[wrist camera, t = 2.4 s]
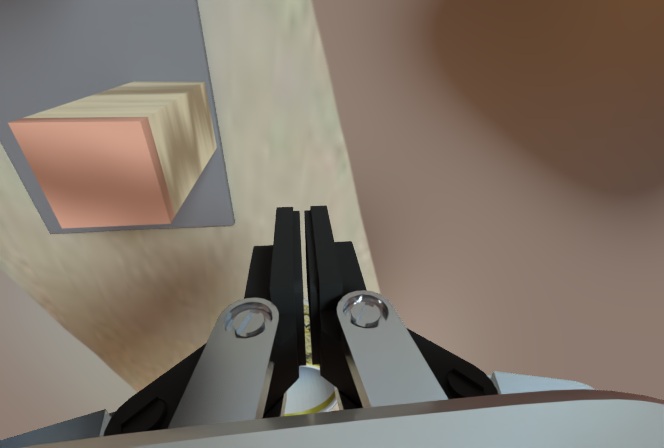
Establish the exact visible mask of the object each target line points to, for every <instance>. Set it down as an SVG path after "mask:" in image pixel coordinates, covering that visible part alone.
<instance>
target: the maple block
mask: <svg viewBox="0 0 664 448" xmlns="http://www.w3.org/2000/svg"><path fill="white" fill-rule="evenodd" d="M8 124H9V126H10V128H11V130H12V132H13V134H14V136H15V138H16V140H17V142H18V144H19V145H20V147H21V149H22V151H23V153H24V155H25V157H26V159H27V161H28V163H29V165H30V167H31V169H32V171H33V173H34V175H35V177H36V179H37V181H38V183H39V185H40V186H41V188H42V190H43V192H44V194H45V196H46V198H47V200H48V202H49V204H50V206H51V208H52V210H53V212H54V214H55V216H56V218H57V220H58V222H59V224H60V226H61V227H62V228H84V227H106V226H128V225H150V224H171V222H172V220H173V219H174V217H175V215H176V214H177V212H178V211H179V209H180V207H181V206H182V204H183V202H184V201H185V199H186V197H187V196H188V194H189V193H190V191H191V189H192V188H193V186H194V184H195V183H196V181H197V179H198V178H199V176H200V175H201V173H202V171H203V170H204V168H205V166H206V165H207V163H208V161H209V160H210V158H211V157H212V155H213V153H214V152H215V150H216V148H217V146H216V141H215V135H214V129H213V124H212V118H211V113H210V107H209V102H208V96H207V90H206V85H205V82H131V83H128V84H125V85H122V86H118V87H115V88H112V89H109V90H106V91H103V92H100V93H97V94H94V95H91V96H88V97H85V98H82V99H79V100H76V101H73V102H70V103H67V104H64V105H61V106H58V107H55V108H52V109H49V110H45V111H42V112H39V113H36V114H33V115H30V116H27V117H24V118H21V119H18V120H15V121H12V122H9V123H8Z"/></svg>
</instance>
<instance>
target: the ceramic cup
mask: <svg viewBox="0 0 664 448" xmlns="http://www.w3.org/2000/svg"><path fill="white" fill-rule="evenodd" d="M303 301H304V324H305V347H306V366H299V378H298V380H297V381H296V382H295V383H294V384H293V385H292V386H291V387H290V388H289V389H288V390H287V401H286V407H285V413H284V416H292V415H301V414H310V413H320V412H328V411H330V410H331V409H332V408H333V407H334V406H335V405H336V403H337V399H336V396H335V388H334V385H332V384H331V383H330V382H329V381H327V380H326V379H325V378H323V377H322V376H320V364H317V365H312V351H311V336H310V320H309V305H308V301H307V300H303Z"/></svg>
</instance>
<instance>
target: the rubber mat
mask: <svg viewBox="0 0 664 448" xmlns="http://www.w3.org/2000/svg"><path fill="white" fill-rule="evenodd" d="M131 82H205V85H206V90H207V96H208V102H209V107H210V113H211V118H212V124H213V129H214V135H215V141H216V146H217V148H216V150H215V152H214V153H213V155H212V157H211V158H210V160H209V161H208V163H207V165H206V166H205V168H204V170H203V171H202V173H201V175H200V176H199V178H198V179H197V181H196V183H195V184H194V186H193V188H192V189H191V191H190V193H189V194H188V196H187V197H186V199H185V201H184V202H183V204H182V206H181V207H180V209H179V211H178V212H177V214H176V215H175V217H174V219H173V220H172V222H171V224H150V225H128V226H106V227H84V228H62V227H61V226H60V224H59V222H58V220H57V218H56V216H55V214H54V212H53V210H52V208H51V206H50V204H49V202H48V200H47V198H46V196H45V194H44V192H43V190H42V188H41V186H40V185H39V183H38V181H37V179H36V177H35V175H34V173H33V171H32V169H31V167H30V165H29V163H28V161H27V159H26V157H25V155H24V153H23V151H22V149H21V147H20V145H19V144H18V142H17V140H16V138H15V136H14V134H13V132H12V130H11V128H10V126H9V124H8V123H9V122H12V121H15V120H18V119H21V118H24V117H27V116H30V115H33V114H36V113H39V112H42V111H45V110H49V109H52V108H55V107H58V106H61V105H64V104H67V103H70V102H73V101H76V100H79V99H82V98H85V97H88V96H91V95H94V94H97V93H100V92H103V91H106V90H109V89H112V88H115V87H118V86H122V85H125V84H128V83H131ZM0 142H1V144H2V146H3V148H4V149H5V151H6V153H7V155H8V157H9V159H10V160H11V162H12V164H13V166H14V168H15V170H16V172H17V173H18V175H19V177H20V179H21V181H22V183H23V185H24V186H25V188H26V190H27V192H28V194H29V196H30V197H31V199H32V201H33V203H34V205H35V207H36V209H37V210H38V212H39V214H40V216H41V218H42V220H43V221H44V223H45V225H46V227H47V229H48V231H49V233H50V234H57V233H78V232H99V231H121V230H142V229H163V228H185V227H206V226H227V225H234V223H235V220H234V214H233V208H232V202H231V196H230V190H229V185H228V179H227V173H226V167H225V161H224V155H223V149H222V143H221V137H220V132H219V126H218V120H217V114H216V108H215V102H214V96H213V90H212V85H211V79H210V73H209V67H208V61H207V55H206V49H205V43H204V38H203V32H202V26H201V20H200V14H199V8H198V2H197V0H0Z"/></svg>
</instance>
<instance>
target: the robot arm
mask: <svg viewBox="0 0 664 448" xmlns="http://www.w3.org/2000/svg"><path fill="white" fill-rule="evenodd" d="M305 240H306V269H307V289H308V305H309V320H310V336H311V351H312V365H317V364H320V376H322V377H323V378H325V379H326V380H327V381H329V382H330V383H331V384H332V385H334V388H335V396H336V399H337V403H338V406H339V411H329V412H320V413H310V414H301V415H292V416H284V413H285V407H286V401H287V390H288V389H289V388H290V387H291V386H292V385H293V384H294V383H295V382H296V381H297V380H298V378H299V366H306V347H305V324H304V301H303V279H302V257H301V235H300V213H299V211H293V207H279V208H277V210H276V221H275V232H274V244H273V245H269V246H254V248H253V253H252V258H251V264H250V269H249V275H248V280H247V286H246V291H245V297H244V299H242V300H239V301H237V302H235V303H233V304H231V305H229V306H228V307H227V308H226V309H225V310H224V311H223V312H222V313H221V315H220V316H219V318H218V320H217V322H216V324H215V326H214V329H213V331H212V333H211V335H210V337H209V339H208V342H207V343H206V344H205V345H203V346H202V347H200V348H199V349H198V350H196V351H195V352H194V353H192V354H191V355H189V356H188V357H187V358H185V359H184V360H182V361H181V362H180V363H178V364H177V365H175V366H174V367H173V368H171V369H170V370H169V371H167V372H166V373H164V374H163V375H162V376H160V377H159V378H157V379H156V380H155V381H153V382H152V383H150V384H149V385H148V386H146V387H145V388H144V389H142V390H141V391H139V392H138V393H137V394H135V395H134V396H132V397H131V398H130V399H129V400H128V401H126V402H125V403H124V404H123V405H122V406H121V407H119V409H118V410H117V411H116V412H113V413H108V412H107V410H106V409H104V410H101V411H98V412H95V413H91V414H88V415H84V416H81V417H78V418H74V419H71V420H68V421H64V422H61V423H57V424H54V425H51V426H47V427H44V428H41V429H37V430H34V431H31V432H27V433H24V434H21V435H17V436H14V437H11V438H7V439H4V440H0V448H664V400H662V399H657V398H654V397H649V396H646V395H639V394H632V393H625V392H618V391H607V390H596V389H594V388H592V387H590V386H588V385H586V384H583V383H579V382H575V381H569V380H561V379H553V378H545V377H537V376H529V375H520V374H512V373H504V372H496V371H494V372H493V374H492V376H490V375H486V374H485V373H484V372H483V371H481V370H480V369H478V368H477V367H476V366H474V365H472V364H471V363H469V362H467V361H465V360H463V359H461V358H460V357H458V356H456V355H454V354H452V353H451V352H449V351H447V350H445V349H443V348H442V347H440V346H438V345H436V344H434V343H433V342H431V341H429V340H427V339H425V338H424V337H422V336H420V335H418V334H416V333H414V332H413V331H411V330H409V329H407V328H406V327H405V325H404V323H403V322H402V320H401V318H400V317H399V315H398V313H397V312H396V310H395V308H394V306H393V305H392V304H391V303H390V301H389V300H388V299H387V298H385V297H384V296H382V295H381V294H378V293H375V292H372V291H367V290H366V287H365V284H364V280H363V277H362V273H361V270H360V267H359V263H358V260H357V257H356V253H355V250H354V247H353V244H352V242H351V241H349V242H334V239H333V234H332V229H331V224H330V220H329V215H328V210H327V206H311V209H310V210H309V211H305Z"/></svg>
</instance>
